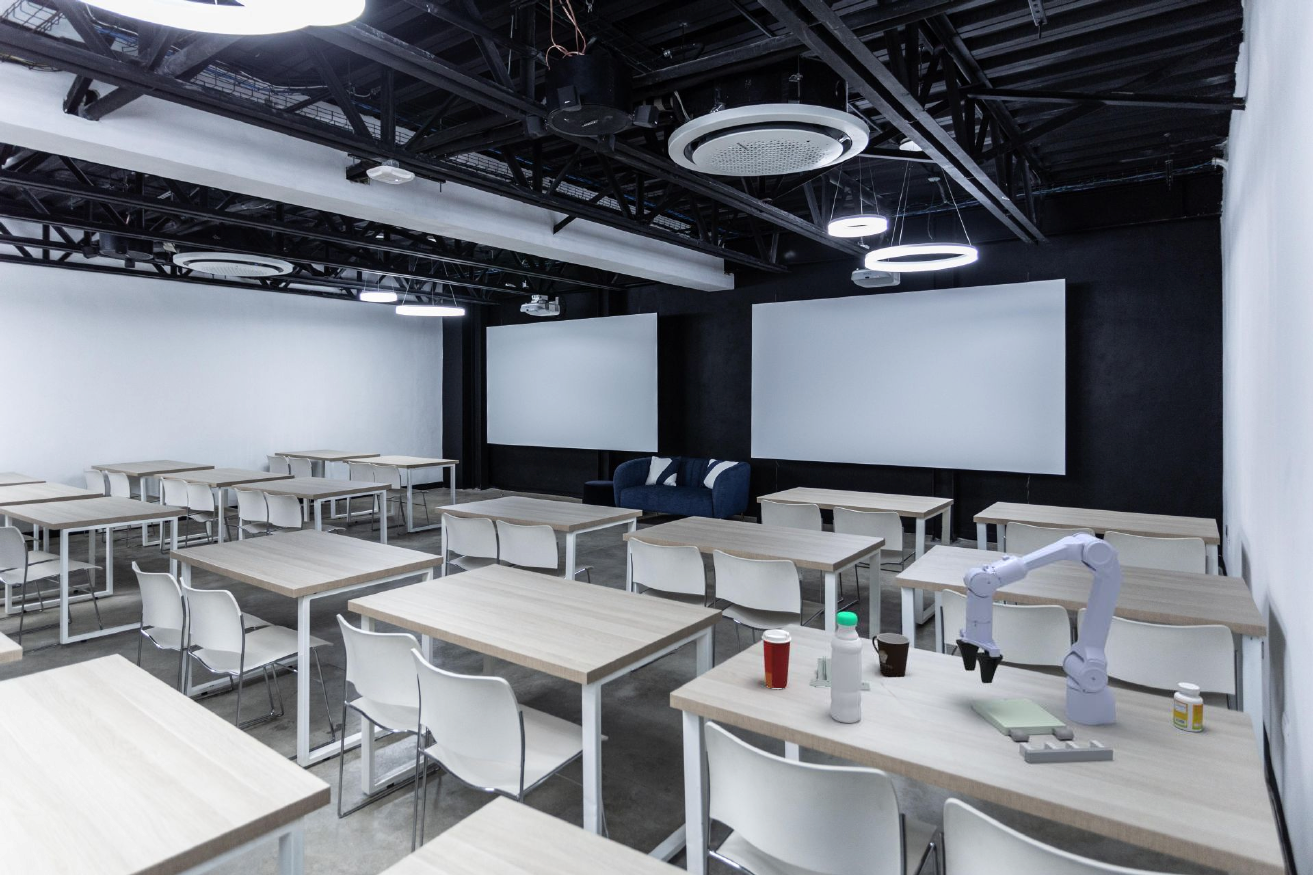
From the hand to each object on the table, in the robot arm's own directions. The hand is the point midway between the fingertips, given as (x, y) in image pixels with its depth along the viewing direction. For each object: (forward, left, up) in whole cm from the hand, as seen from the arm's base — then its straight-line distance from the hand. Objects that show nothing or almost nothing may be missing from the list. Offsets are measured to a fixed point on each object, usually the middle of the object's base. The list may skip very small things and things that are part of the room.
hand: (978, 676), depth 167 cm
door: (-7, +7, -8) cm, 13 cm away
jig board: (-7, +11, -10) cm, 16 cm away
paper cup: (+43, -22, -10) cm, 50 cm away
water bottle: (+31, -2, -10) cm, 33 cm away
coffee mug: (+9, -29, -10) cm, 32 cm away
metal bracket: (+26, -25, -11) cm, 37 cm away
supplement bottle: (-46, +8, -10) cm, 47 cm away
